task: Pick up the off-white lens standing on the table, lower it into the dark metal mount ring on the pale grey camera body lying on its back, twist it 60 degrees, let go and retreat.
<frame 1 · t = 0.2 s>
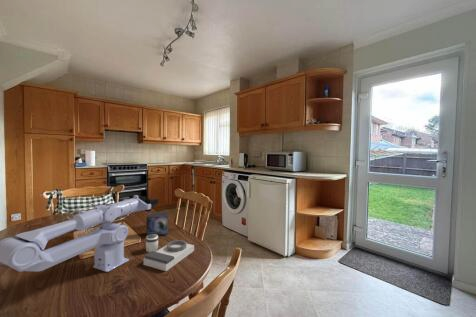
hand: (151, 199, 101), 21 cm above the table, tool horizontal, fingers open, 7 cm apart
camera body: (170, 257, 90), on the table
lens: (152, 249, 96), on the table
small box: (157, 234, 114), on the table
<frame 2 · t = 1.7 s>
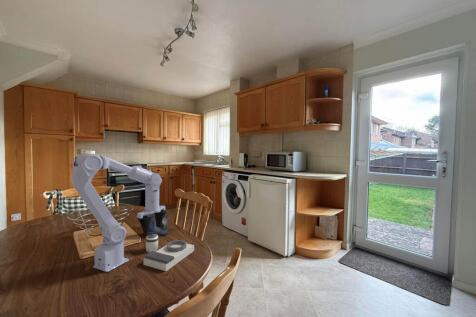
hand: (152, 229, 96), 9 cm above the table, tool pointing down, fingers open, 7 cm apart
nothing on the table moved.
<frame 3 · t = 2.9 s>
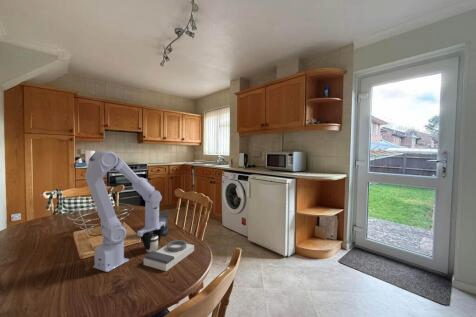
hand: (152, 246, 96), 1 cm above the table, tool pointing down, fingers closed on lens, 5 cm apart
lens: (152, 249, 96), on the table, touching gripper
everything else where it was.
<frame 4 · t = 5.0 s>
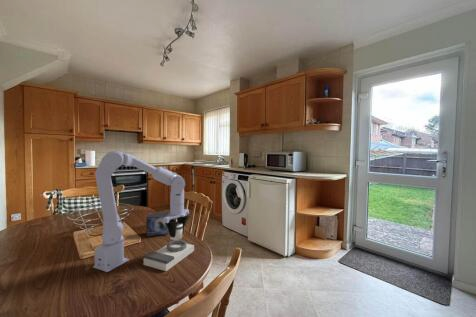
hand: (176, 234, 93), 8 cm above the table, tool pointing down, fingers closed on lens, 5 cm apart
lens: (176, 237, 93), point 7 cm above the table, touching gripper
everything else where it was.
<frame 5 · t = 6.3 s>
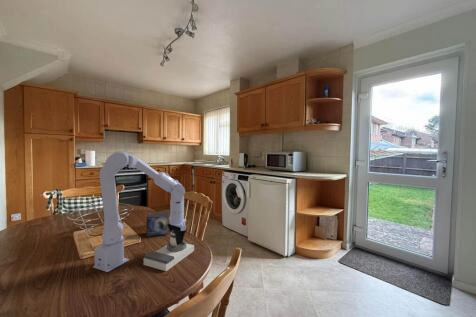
hand: (176, 242, 93), 5 cm above the table, tool pointing down, fingers closed on lens, 5 cm apart
lens: (176, 245, 93), point 3 cm above the table, touching gripper
everything else where it was.
when the fingers open (5 cm above the table, at t = 7.2 s): lens stays where it is, resting on camera body.
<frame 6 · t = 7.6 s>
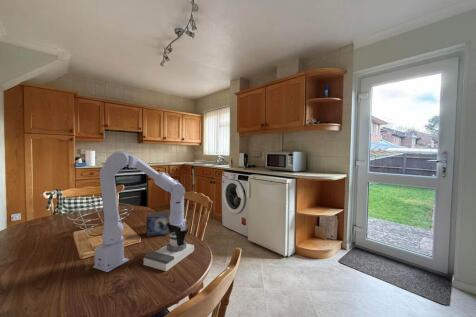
hand: (176, 242, 93), 5 cm above the table, tool pointing down, fingers open, 7 cm apart
lens: (176, 247, 93), point 3 cm above the table, touching camera body
everything else where it was.
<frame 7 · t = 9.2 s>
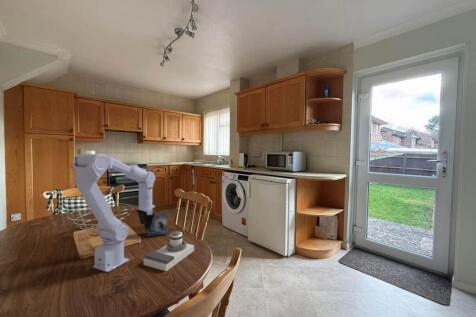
hand: (145, 226, 98), 9 cm above the table, tool pointing down, fingers open, 7 cm apart
nothing on the table moved.
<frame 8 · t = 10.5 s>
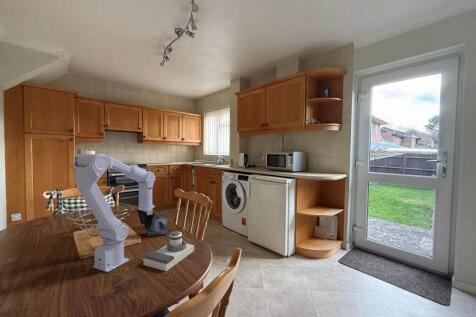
hand: (145, 226, 98), 9 cm above the table, tool pointing down, fingers open, 7 cm apart
nothing on the table moved.
at the end: lens 0.4 cm from the target spot on the camera body, point 2.6 cm above the camera body's base; lens tilted 2°; the gripper is holding nothing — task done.
